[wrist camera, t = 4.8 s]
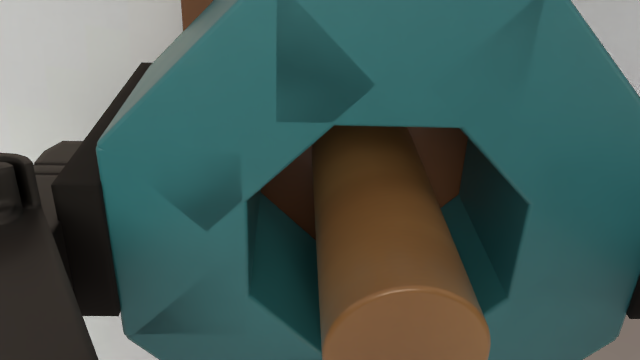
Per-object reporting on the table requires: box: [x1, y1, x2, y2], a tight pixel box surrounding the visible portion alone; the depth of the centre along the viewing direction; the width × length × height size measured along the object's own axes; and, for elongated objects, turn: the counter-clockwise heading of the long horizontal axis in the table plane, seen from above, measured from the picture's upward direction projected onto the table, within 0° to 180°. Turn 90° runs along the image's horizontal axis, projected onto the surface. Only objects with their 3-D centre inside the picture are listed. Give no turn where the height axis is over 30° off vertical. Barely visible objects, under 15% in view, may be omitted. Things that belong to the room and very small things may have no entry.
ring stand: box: [181, 0, 491, 360], centre depth 15 cm, size 8×8×16 cm
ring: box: [96, 0, 640, 360], centre depth 13 cm, size 10×10×4 cm
